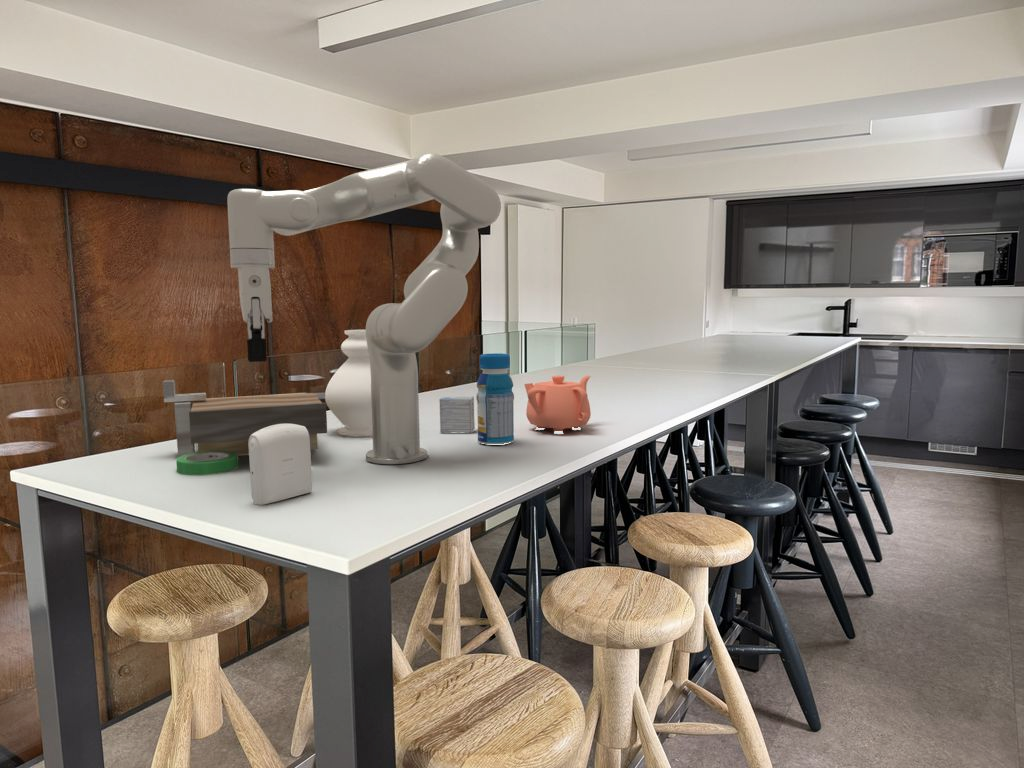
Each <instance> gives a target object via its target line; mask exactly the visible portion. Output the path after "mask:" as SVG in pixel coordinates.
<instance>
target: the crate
mask: <svg viewBox="0 0 1024 768" xmlns="http://www.w3.org/2000/svg"><path fill="white" fill-rule="evenodd" d="M302 393H303V392H297V393H293V392H292V394H302ZM285 394H286V393H281V394H280V393H278V394H275V395H285ZM268 395H269V394H263V395H262V394H261V395H258V396H268ZM251 396H252V395H246V396H241V397H251ZM234 397H235V396H229V397H227V396H225V397H223V398H234ZM216 398H217V397H210V398H209V397H208V398H207V397H206V399H216ZM192 405H193V401H180V402H174V417H175V431H176V445H177V458H178V457H180V456H183V455H186V454H190V453H196V449H195V444H191V434H190V419H189V411H191V408H192ZM309 438H310V451H313V450H318V446H319V445H318V434H309ZM248 442H249V439H245V440H233V441H220V442H207V443H197V452H203V451H231V452H235V453H237V455H238V457H241V456H243V457H244V456H249V447H248Z"/></svg>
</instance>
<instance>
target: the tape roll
mask: <svg viewBox="0 0 1024 768" xmlns="http://www.w3.org/2000/svg"><path fill="white" fill-rule="evenodd" d="M238 457H239V456H238V455H237V453H235V452H231V451H203V452H198V451H197V452H196V451H195V453H190V454H186V455H183V456H180V457H178V456H177V457H176V472H177V473H178V474H180V475H185V476H206V475H214V474H219V473H225V472H229V471H233V470H235V469H237V468H238V467H239V458H238Z"/></svg>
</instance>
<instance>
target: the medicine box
mask: <svg viewBox="0 0 1024 768" xmlns="http://www.w3.org/2000/svg"><path fill="white" fill-rule="evenodd" d="M475 425H476V424H475V397H474V396H473V395H445V396H440V398H439V427H440V429H439V431H440V432H472V431H473V430H474V429H475V428H476V426H475ZM474 431H475V430H474ZM474 431H473V432H474Z"/></svg>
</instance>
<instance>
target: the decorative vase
mask: <svg viewBox="0 0 1024 768" xmlns="http://www.w3.org/2000/svg"><path fill="white" fill-rule="evenodd" d="M343 332H344V335H347V336H348V337H347V338H346V339H344V341H343V342H342V343H341V345H340V350H341V352H342V353H343V354H344V355H345V356H347V357H348V358H347V359H346V360H345V362H343V363H342V365H341V366H339V368H338V369H337V370H336V371H335V373H333V375H332V377H331V379H330V380H329V382H328V383H327V385H326V389H325V393H324V399H325V403H326V407H328V409H329V410H330V412H331V413H332V414H333V415H334V416H335V418H337V420H338V421H339V422H340V423H341V424H342V425H343V426H344V427H341V428H339V429H338V430H337V434H338V435H340V436H343V437H351V438H352V437H353V438H354V437H355V438H359V437H360V438H361V437H362V438H363V437H373V433H372V404H371V373H370V359H369V352H368V346H367V340H366V329H347V330H344V331H343Z"/></svg>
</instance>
